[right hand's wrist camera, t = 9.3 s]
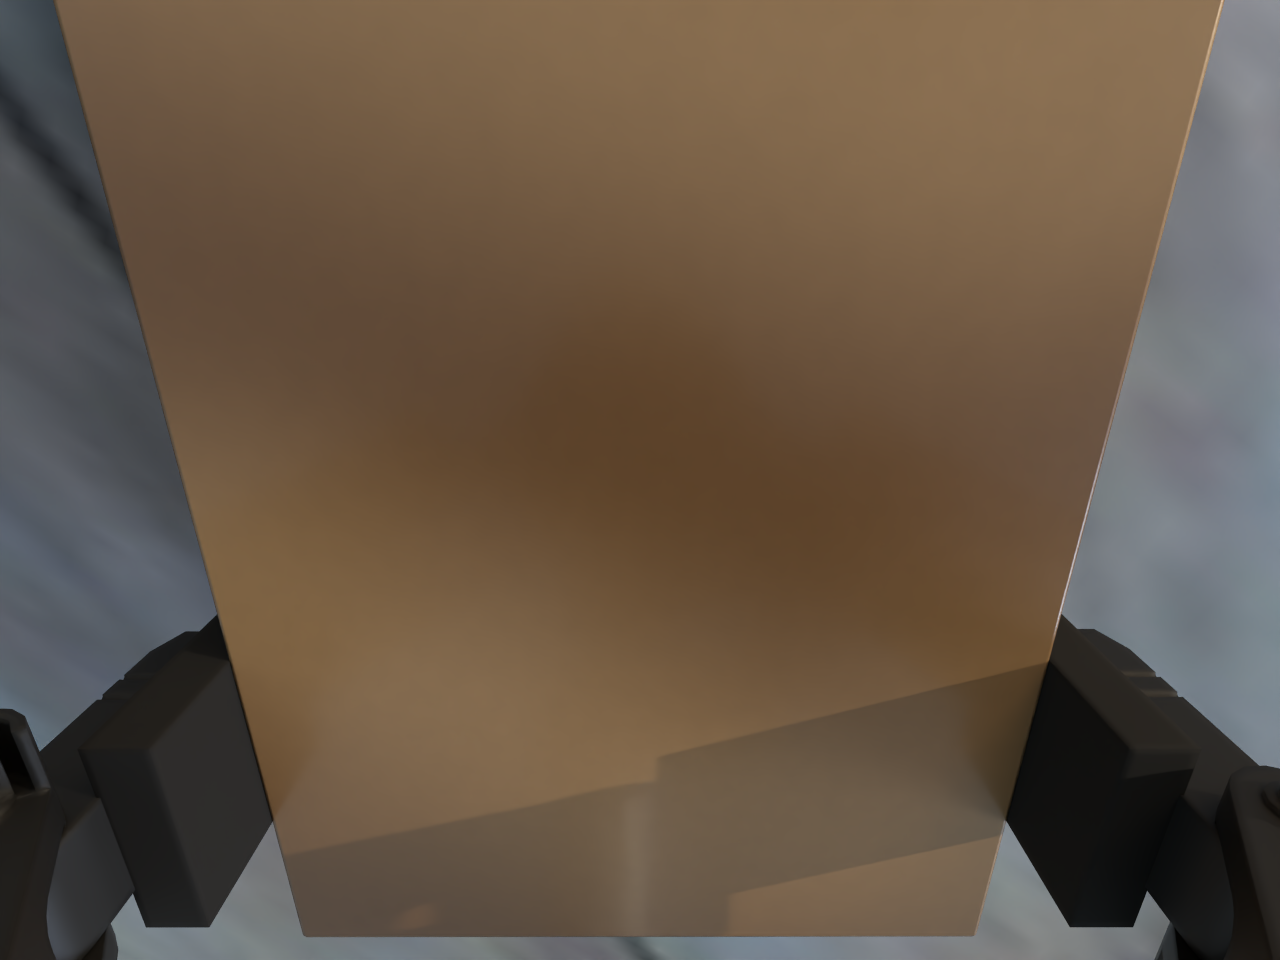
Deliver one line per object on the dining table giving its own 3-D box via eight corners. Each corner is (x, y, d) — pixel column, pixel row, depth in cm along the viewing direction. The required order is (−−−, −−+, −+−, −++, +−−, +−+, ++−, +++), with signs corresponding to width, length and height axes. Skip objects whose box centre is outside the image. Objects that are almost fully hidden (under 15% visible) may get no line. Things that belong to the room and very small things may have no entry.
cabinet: (341, -251, 12) (-274, -1196, 4) (935, -250, 12) (1547, -1193, 4) (448, 622, 18) (302, 939, 10) (830, 621, 18) (977, 938, 10)
